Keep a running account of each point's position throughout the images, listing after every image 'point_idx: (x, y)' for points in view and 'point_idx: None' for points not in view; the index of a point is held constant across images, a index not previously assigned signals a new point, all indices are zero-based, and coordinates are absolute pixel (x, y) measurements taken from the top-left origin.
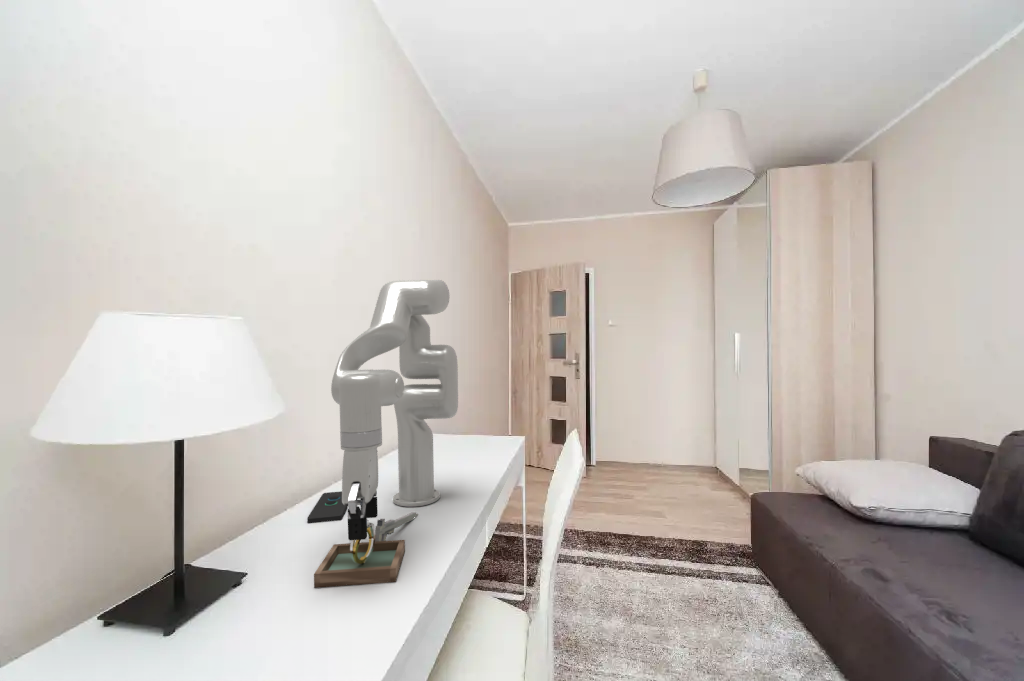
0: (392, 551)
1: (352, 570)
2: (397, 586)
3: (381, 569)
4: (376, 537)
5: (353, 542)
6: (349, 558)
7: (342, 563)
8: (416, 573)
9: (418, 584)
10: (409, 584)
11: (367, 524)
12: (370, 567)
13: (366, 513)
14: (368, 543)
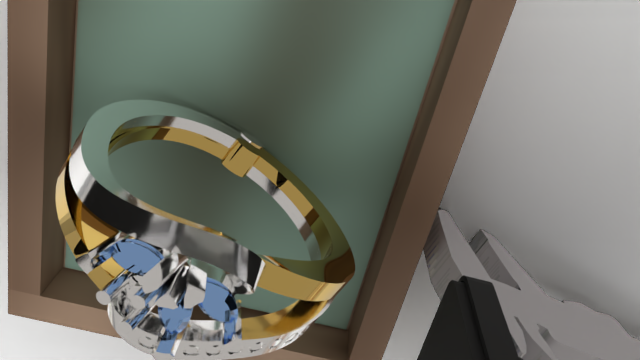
0: (337, 300)
1: (23, 95)
2: (3, 271)
3: (10, 249)
4: (440, 266)
5: (70, 160)
6: (345, 63)
7: (283, 17)
8: (110, 353)
9: (7, 346)
10: (13, 316)
11: (143, 332)
12: (41, 197)
13: (442, 347)
14: (413, 205)
